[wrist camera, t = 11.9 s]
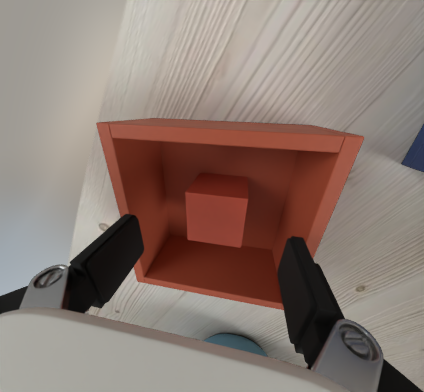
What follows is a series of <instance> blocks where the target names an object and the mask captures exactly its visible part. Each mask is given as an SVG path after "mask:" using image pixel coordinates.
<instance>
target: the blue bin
mask: <svg viewBox="0 0 424 392" xmlns="http://www.w3.org/2000/svg"><path fill="white" fill-rule="evenodd" d="M402 165H405V166H408V167H410V168H413V169H416V170H419V171H422V172H424V124H423V126H422V128H421V130H420V132H419V133H418V135H417V137H416V139H415V141H414V142H413V144H412V146H411V148H410V149H409V151H408V153H407V155H406V157H405V158H404V160H403V162H402Z"/></svg>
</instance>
